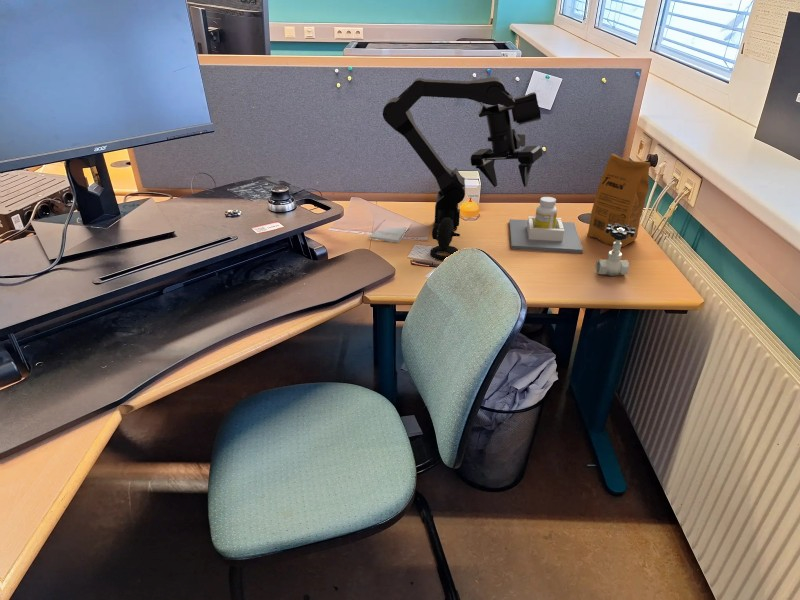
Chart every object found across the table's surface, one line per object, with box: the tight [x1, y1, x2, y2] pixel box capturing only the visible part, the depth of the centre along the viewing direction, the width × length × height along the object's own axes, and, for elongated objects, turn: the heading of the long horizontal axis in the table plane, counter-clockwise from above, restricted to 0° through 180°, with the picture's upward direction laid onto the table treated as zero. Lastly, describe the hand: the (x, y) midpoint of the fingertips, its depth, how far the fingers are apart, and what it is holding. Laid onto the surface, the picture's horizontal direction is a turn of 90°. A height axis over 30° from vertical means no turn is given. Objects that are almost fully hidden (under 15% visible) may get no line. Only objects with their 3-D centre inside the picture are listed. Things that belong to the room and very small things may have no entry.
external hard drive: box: [369, 227, 407, 244], centre depth 152 cm, size 2×8×12 cm
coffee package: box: [587, 153, 652, 248], centre depth 143 cm, size 10×12×22 cm
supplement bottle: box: [534, 196, 558, 229], centre depth 146 cm, size 5×5×10 cm
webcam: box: [429, 218, 461, 262], centre depth 137 cm, size 8×8×10 cm
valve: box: [595, 223, 636, 277], centre depth 127 cm, size 7×7×12 cm
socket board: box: [509, 215, 584, 254], centre depth 148 cm, size 18×18×4 cm
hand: (510, 186), depth 148 cm, fingers open, 9 cm apart
